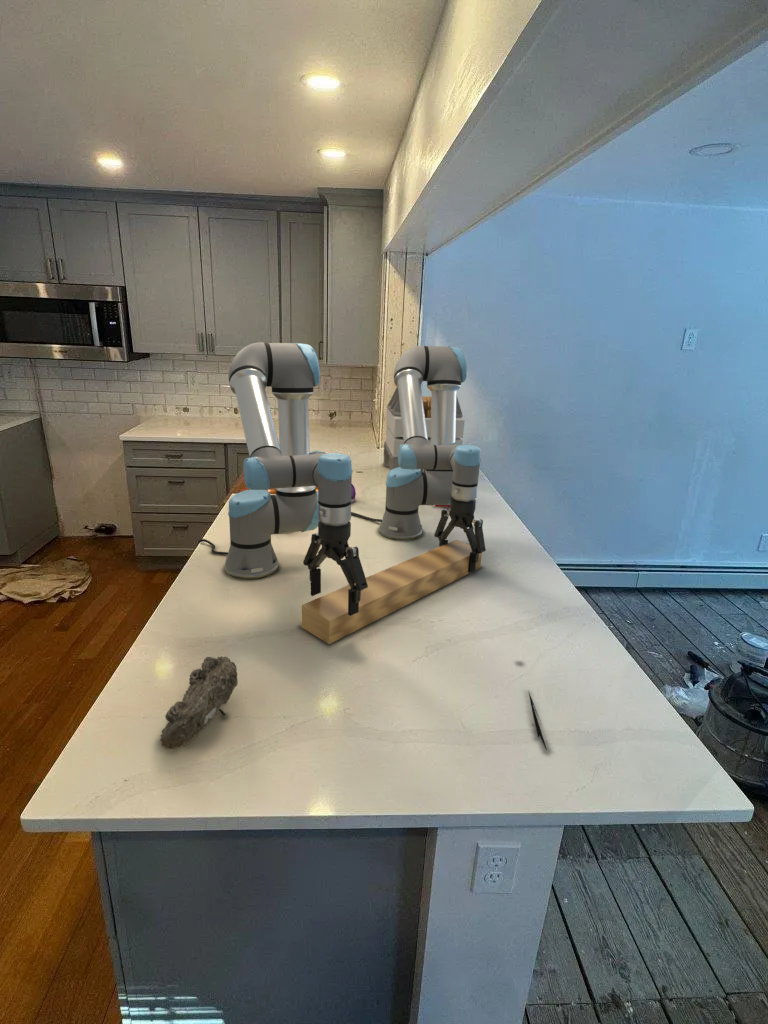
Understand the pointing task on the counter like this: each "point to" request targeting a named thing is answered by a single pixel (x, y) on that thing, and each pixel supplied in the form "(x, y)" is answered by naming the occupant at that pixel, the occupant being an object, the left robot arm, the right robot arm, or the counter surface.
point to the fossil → (200, 701)
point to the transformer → (396, 434)
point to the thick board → (387, 591)
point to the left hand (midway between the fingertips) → (333, 603)
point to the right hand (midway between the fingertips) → (457, 565)
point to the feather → (536, 721)
